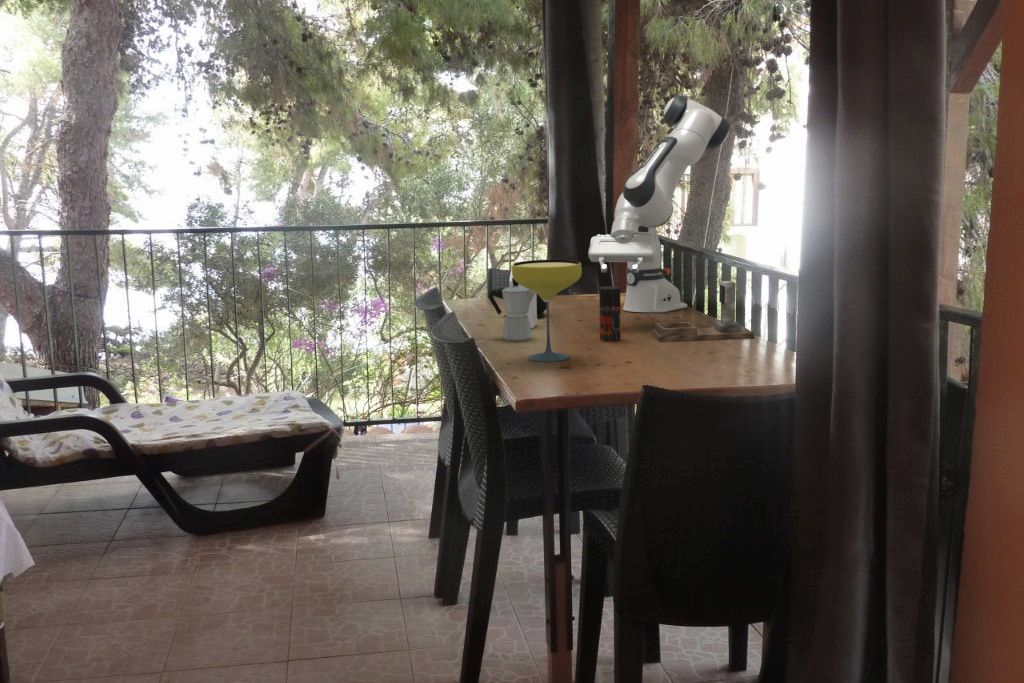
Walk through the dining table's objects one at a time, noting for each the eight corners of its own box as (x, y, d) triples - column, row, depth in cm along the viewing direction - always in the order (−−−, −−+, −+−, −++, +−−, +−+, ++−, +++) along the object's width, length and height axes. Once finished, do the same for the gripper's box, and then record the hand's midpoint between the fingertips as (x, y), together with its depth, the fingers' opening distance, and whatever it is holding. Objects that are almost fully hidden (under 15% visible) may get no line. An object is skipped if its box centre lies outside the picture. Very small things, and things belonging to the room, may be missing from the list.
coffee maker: (542, 336, 285) (541, 275, 281) (533, 342, 277) (531, 279, 273) (495, 334, 290) (493, 275, 286) (484, 340, 281) (482, 279, 278)
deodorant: (598, 338, 280) (597, 286, 277) (618, 337, 280) (618, 285, 278) (601, 341, 274) (601, 289, 271) (622, 341, 275) (622, 288, 272)
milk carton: (533, 329, 297) (531, 267, 294) (510, 328, 299) (508, 267, 295) (537, 325, 304) (535, 264, 301) (515, 324, 306) (513, 265, 302)
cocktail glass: (587, 363, 247) (586, 265, 242) (517, 366, 245) (514, 268, 241) (577, 349, 264) (576, 258, 260) (511, 352, 263) (509, 260, 258)
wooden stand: (658, 341, 272) (658, 287, 269) (651, 334, 283) (651, 282, 280) (753, 338, 273) (754, 283, 270) (743, 331, 284) (743, 278, 281)
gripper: (590, 228, 293) (583, 264, 286) (657, 228, 287) (652, 264, 279) (593, 241, 298) (586, 277, 291) (659, 241, 292) (654, 278, 284)
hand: (619, 271), depth 285 cm, fingers open, 8 cm apart
